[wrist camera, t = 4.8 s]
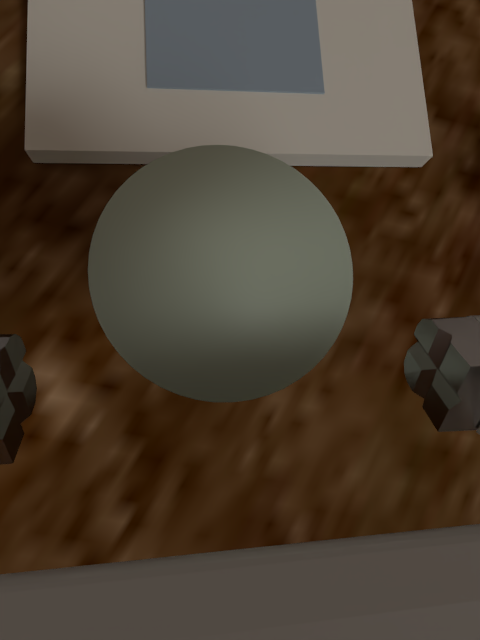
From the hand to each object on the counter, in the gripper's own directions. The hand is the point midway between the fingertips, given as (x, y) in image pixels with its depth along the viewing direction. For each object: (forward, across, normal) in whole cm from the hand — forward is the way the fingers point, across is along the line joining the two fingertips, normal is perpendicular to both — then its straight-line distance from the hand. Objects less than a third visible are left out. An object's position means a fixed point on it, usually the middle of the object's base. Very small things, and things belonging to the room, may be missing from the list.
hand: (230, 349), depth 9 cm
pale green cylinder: (+7, 0, +6) cm, 9 cm away
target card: (+18, -2, -5) cm, 19 cm away
